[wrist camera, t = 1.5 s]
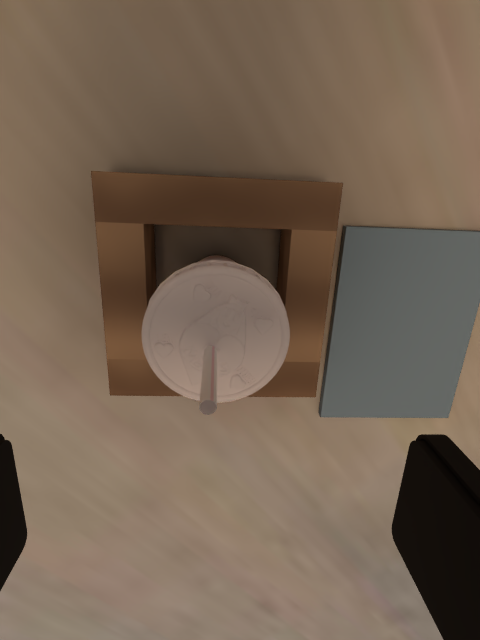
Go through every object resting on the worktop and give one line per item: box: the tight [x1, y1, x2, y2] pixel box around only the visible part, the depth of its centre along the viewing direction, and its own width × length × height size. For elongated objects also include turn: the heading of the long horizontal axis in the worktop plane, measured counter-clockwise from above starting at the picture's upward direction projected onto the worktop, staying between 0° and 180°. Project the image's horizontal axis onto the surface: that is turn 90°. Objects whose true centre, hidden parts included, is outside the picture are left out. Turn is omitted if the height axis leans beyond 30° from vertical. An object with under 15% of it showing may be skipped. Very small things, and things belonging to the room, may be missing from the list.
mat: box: [319, 226, 480, 418], centre depth 26 cm, size 14×10×1 cm
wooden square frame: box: [91, 171, 343, 397], centre depth 23 cm, size 13×13×4 cm
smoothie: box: [141, 255, 290, 415], centre depth 18 cm, size 6×6×14 cm
